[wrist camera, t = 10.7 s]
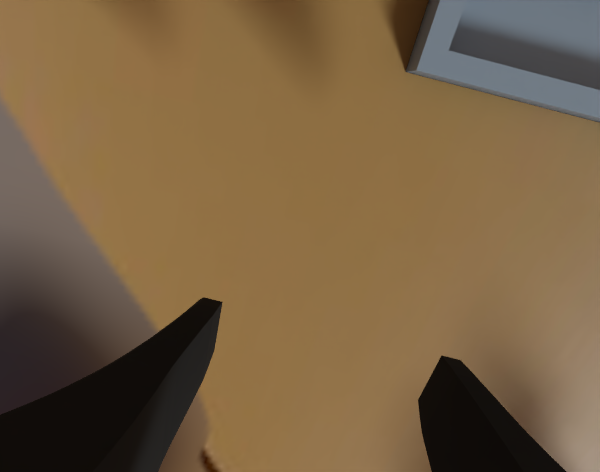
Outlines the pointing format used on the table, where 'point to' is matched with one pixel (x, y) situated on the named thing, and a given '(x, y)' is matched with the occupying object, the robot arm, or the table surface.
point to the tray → (515, 50)
